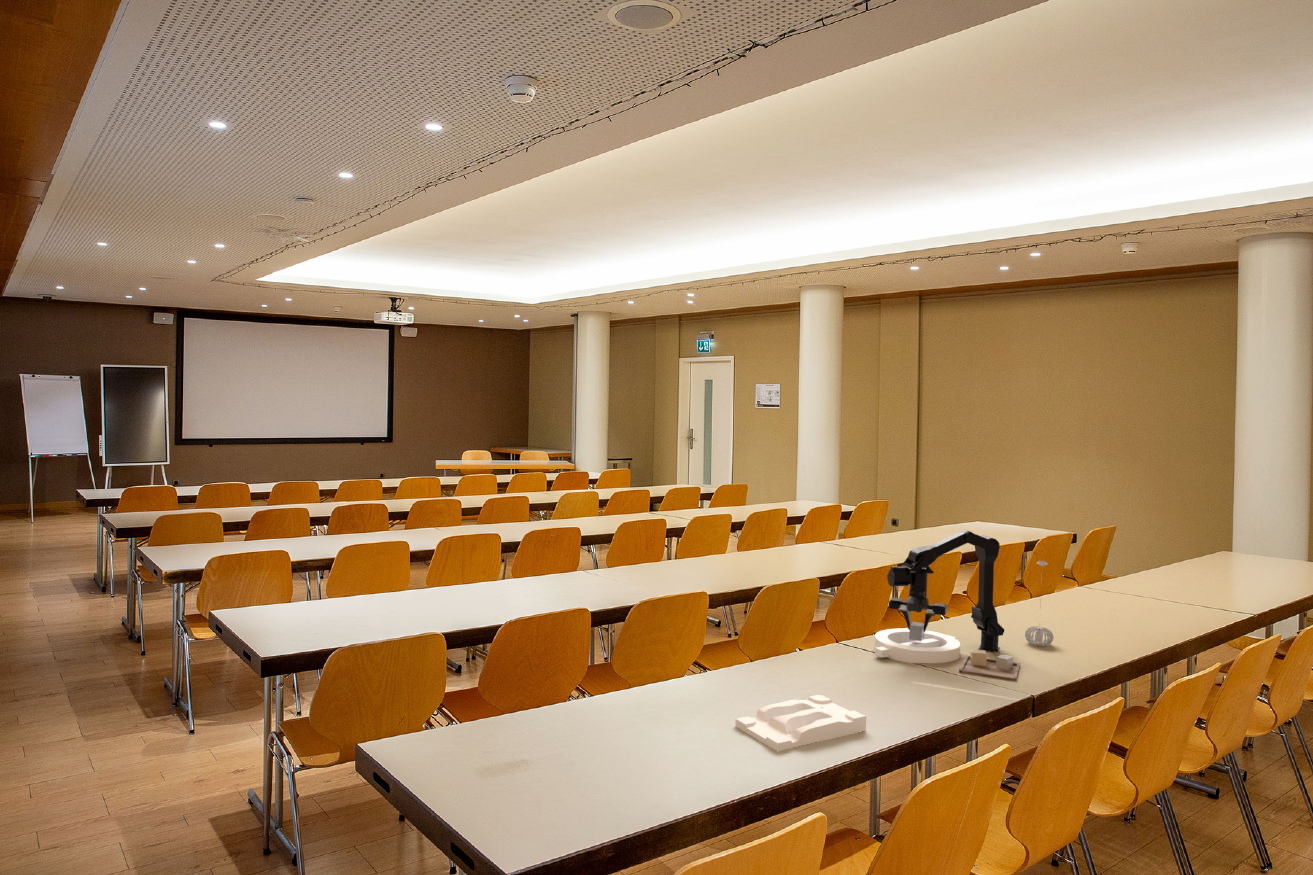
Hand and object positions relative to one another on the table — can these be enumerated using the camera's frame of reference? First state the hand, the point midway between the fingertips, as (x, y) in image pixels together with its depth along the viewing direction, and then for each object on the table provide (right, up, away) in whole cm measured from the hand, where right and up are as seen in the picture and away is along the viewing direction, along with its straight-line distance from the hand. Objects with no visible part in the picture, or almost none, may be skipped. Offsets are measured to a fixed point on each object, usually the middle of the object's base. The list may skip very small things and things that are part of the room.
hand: (916, 630), depth 288 cm
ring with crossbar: (0, -8, 0) cm, 8 cm away
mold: (-52, -10, -70) cm, 88 cm away
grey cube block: (0, -3, 0) cm, 3 cm away
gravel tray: (+18, -8, -18) cm, 27 cm away
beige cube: (+23, -8, -17) cm, 30 cm away
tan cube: (+16, -8, -13) cm, 22 cm away
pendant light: (+48, -8, +13) cm, 50 cm away
